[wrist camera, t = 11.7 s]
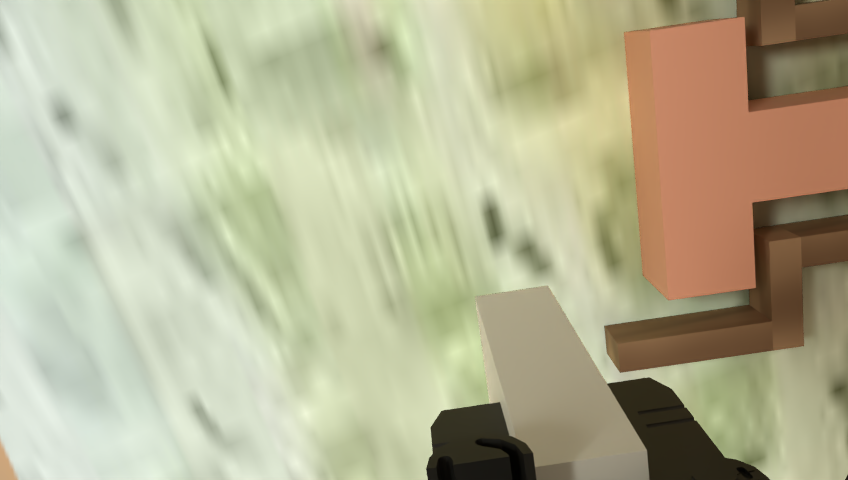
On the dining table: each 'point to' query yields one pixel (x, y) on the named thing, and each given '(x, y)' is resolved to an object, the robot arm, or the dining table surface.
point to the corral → (773, 246)
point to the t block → (718, 153)
